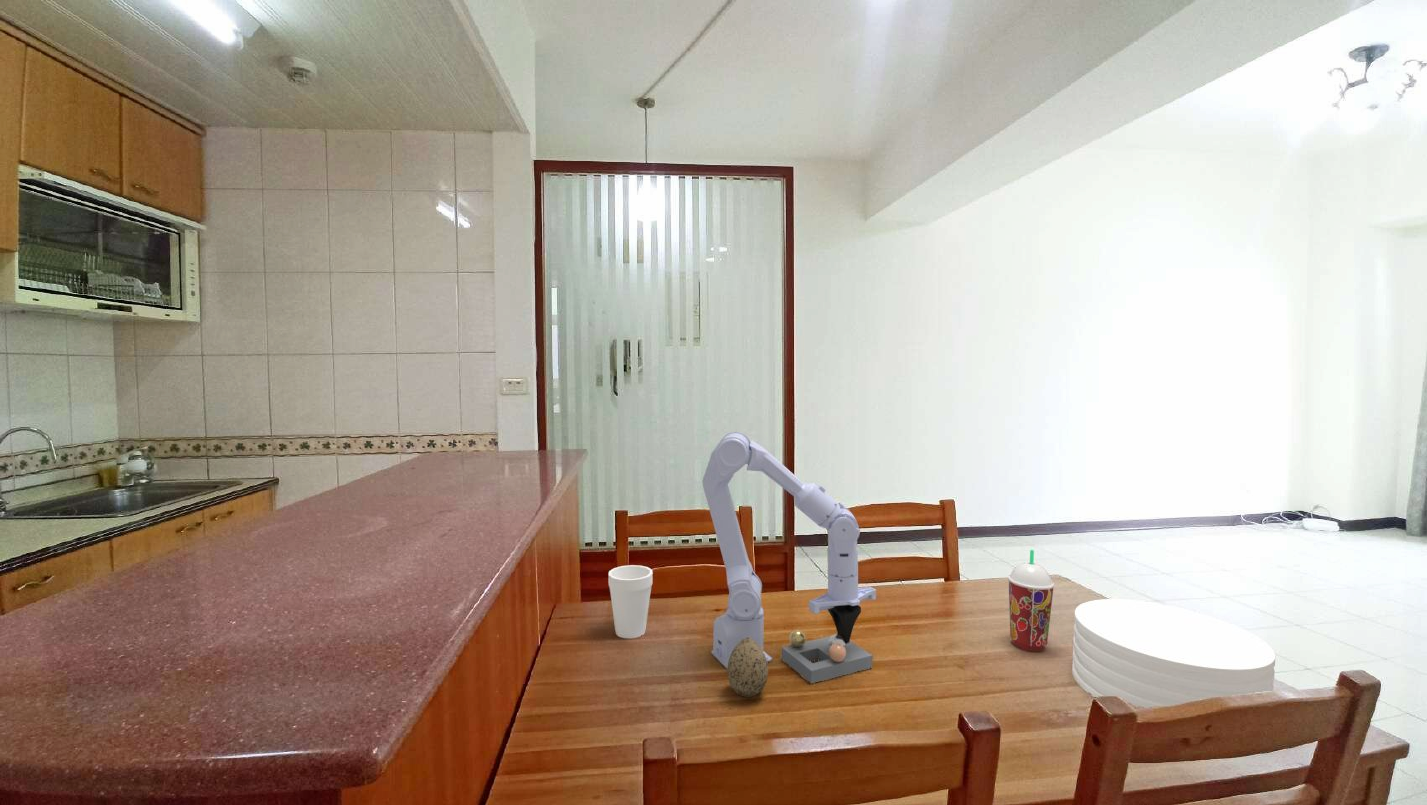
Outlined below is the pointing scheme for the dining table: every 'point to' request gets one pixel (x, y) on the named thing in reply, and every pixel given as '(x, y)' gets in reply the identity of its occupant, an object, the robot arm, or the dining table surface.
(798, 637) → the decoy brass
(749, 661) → the decorative egg
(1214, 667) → the plate stack
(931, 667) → the dining table surface
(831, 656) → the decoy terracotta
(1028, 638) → the smoothie
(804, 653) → the grey tray with hole
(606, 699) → the dining table surface
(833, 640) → the steel ball
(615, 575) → the foam cup
